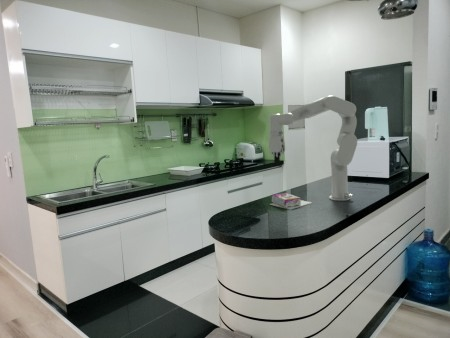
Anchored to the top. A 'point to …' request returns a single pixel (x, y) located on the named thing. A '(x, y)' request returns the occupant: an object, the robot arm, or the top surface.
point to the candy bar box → (286, 200)
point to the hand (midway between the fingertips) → (277, 162)
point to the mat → (293, 206)
